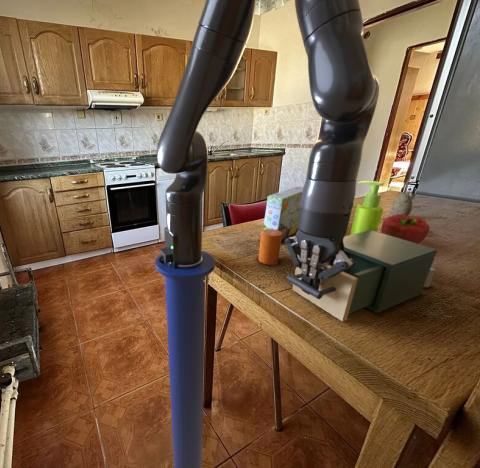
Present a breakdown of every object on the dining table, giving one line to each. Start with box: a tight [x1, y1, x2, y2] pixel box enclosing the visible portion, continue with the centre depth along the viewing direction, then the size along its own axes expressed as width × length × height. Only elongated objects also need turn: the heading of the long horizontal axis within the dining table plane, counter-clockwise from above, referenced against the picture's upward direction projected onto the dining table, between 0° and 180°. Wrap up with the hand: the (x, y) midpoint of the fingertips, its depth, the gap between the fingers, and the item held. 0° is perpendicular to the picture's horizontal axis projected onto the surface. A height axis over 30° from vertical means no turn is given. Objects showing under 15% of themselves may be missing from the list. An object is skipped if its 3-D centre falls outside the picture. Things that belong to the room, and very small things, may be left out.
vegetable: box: [380, 214, 430, 245], centre depth 75 cm, size 11×10×10 cm
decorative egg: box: [389, 192, 413, 217], centre depth 98 cm, size 6×6×10 cm
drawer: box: [286, 251, 386, 322], centre depth 51 cm, size 18×11×9 cm, turn 113°
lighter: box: [423, 267, 436, 288], centre depth 59 cm, size 7×2×8 cm, turn 179°
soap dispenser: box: [349, 180, 385, 235], centre depth 72 cm, size 6×7×20 cm
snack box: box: [262, 185, 304, 242], centre depth 87 cm, size 21×6×15 cm, turn 132°
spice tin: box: [258, 229, 282, 266], centre depth 70 cm, size 5×5×8 cm
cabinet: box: [343, 230, 438, 314], centre depth 56 cm, size 15×13×11 cm
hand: (308, 291), depth 50 cm, fingers closed
